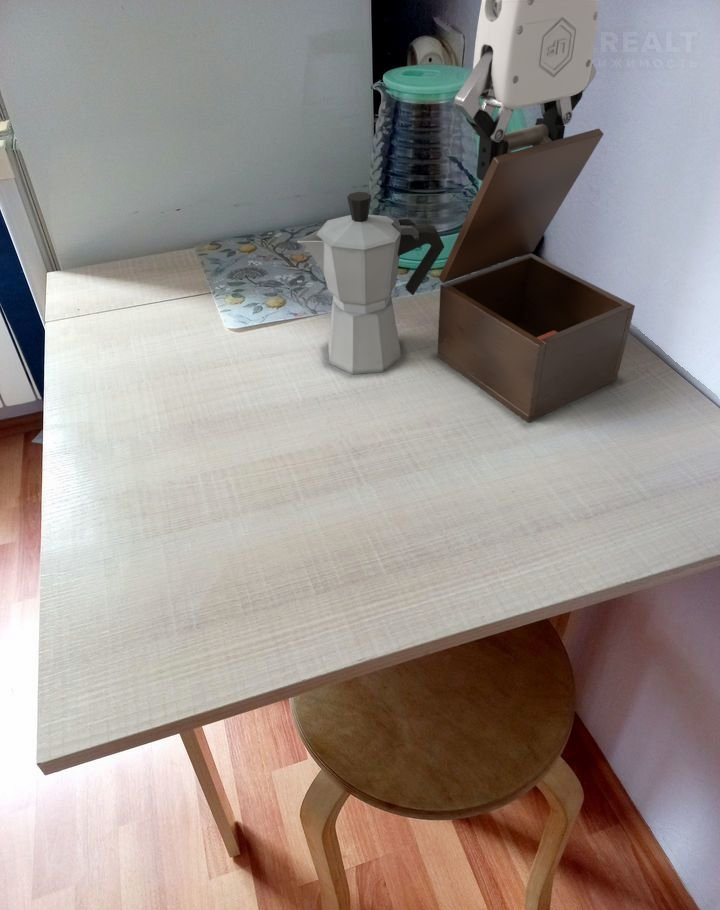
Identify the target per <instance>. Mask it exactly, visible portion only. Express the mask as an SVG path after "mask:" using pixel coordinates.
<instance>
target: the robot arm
mask: <svg viewBox="0 0 720 910" xmlns="http://www.w3.org/2000/svg"><path fill="white" fill-rule="evenodd" d="M599 2H600V1H599V0H481V4H480V9H479V14H478V21H477V26H476V27H477V28H476V35H475V44H474V53H473V54H474V55H473V62H472V63H473V64H472V65H473V66H472V71H471V72H470V74H469V75H468V77H467V78H466V80H465V81H464V82H463V84H462V86H461V87H460V89H459V90H458V92H457V93H456V95H455V97H454V100H453V104H454V105H455V107H456V108H457V109H458V110H459V112H460V113H461V114H462V116H464V117H465V120H466V122H467V123H468V124H469V125H470V126H471V128H472V129H473V133H474V134H475V135H476V136H478V137H479V139H478V153H477V165H476V178H477V179H478V180H479V181H481V182H483V180H484V178H485V175H486V173H487V171H488V169H489V167H490V164H491V162H492V160H493V158H494V157H496V156H500V155H504V154H507V153H508V141H506V140H503V138H504V135H505V133H507V129H508V127H509V125H510V122H511V119H512V115H513V114H514V112H515V110H520V109H525V108H530V107H534V106H537V105H540V106H539V107H540V113H541V117H538V118H536V121H535V125H534V126H536V125H540V124H545V125H546V126H547V128H548V130H549V138H550V139H551V140H552V141H555V140H558V139H562V138H565V130H566V125H568V124H570V123H571V121H572V119H573V111H574V110H575V108H576V107H577V105H578V104H579V103H580V101H581V99H582V98H583V95H584V93H585V91H586V90H587V89H588V86H590V84H591V83H592V82H593V80H594V79H595V77H596V74H597V70H596V67H595V66H594V65H595V64H594V63H593V59H594V51H595V44H596V38H597V37H596V35H597V26H598V14H599ZM480 99H481V100H482V103H480ZM496 108H498V111H497V114H496V116H495V119H493V117H494V113H495V110H496ZM536 145H540V143H539V144H536ZM536 145H532V147H533V146H536Z"/></svg>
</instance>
